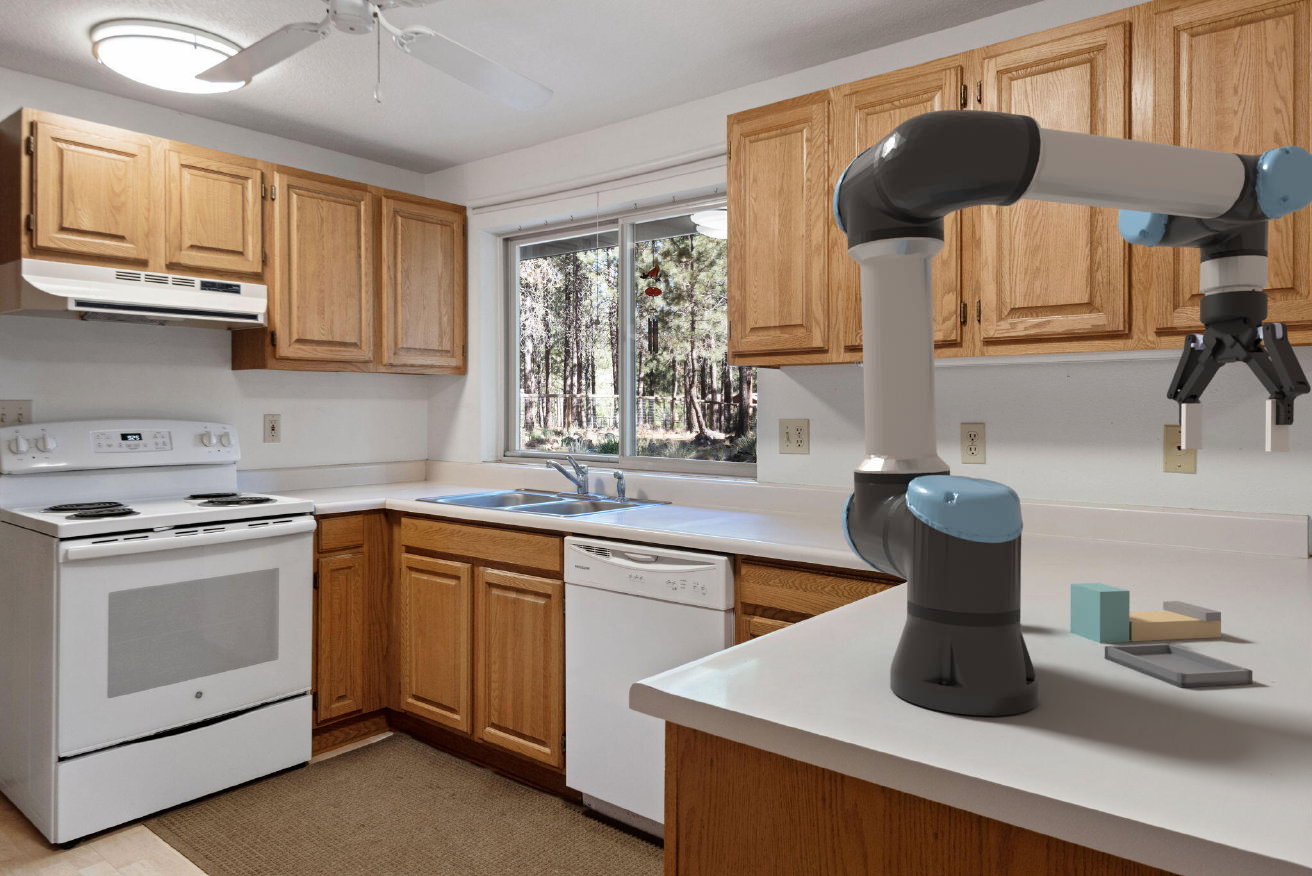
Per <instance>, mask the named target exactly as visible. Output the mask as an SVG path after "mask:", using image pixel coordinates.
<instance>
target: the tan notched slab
mask: <svg viewBox="0 0 1312 876" xmlns="http://www.w3.org/2000/svg"><path fill="white" fill-rule="evenodd" d="M1162 602H1163V603H1162V607H1163V608H1162V610H1157V611H1152V610H1151V611H1132V612H1130V611H1129V642H1145V641H1148V642H1150V641H1165V640H1166V641H1167V640H1190V639H1211V638H1221V637H1222V612H1221V611H1219V610H1214V609H1209V608H1207V607H1203V606H1199V605H1194V604H1190V603H1187V602H1183V601H1180V600H1174V601H1172V600H1170V601H1162Z"/></svg>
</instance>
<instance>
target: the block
mask: <svg viewBox="0 0 1312 876" xmlns="http://www.w3.org/2000/svg"><path fill="white" fill-rule="evenodd" d="M1130 592H1131V591H1130V590H1127V589H1125V588H1121V587H1116V586H1112V585H1108V584H1106V583H1105V584H1104V583H1101V582H1090V583H1089V582H1085V583H1084V582H1083V583H1070V633H1071V634H1074V635H1076V636H1079V637H1082V638H1085V639H1087V640H1089V641H1090V640H1091V641H1093V642H1095V643H1097V644H1098V643H1099V644H1110V643H1113V644H1115V643H1129V642H1130V640H1129V612H1130V603H1131V602H1130V600H1131V599H1130V598H1131V597H1130Z"/></svg>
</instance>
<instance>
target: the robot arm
mask: <svg viewBox="0 0 1312 876" xmlns="http://www.w3.org/2000/svg"><path fill="white" fill-rule="evenodd" d="M834 188H835V189H834V193H833V199H832V200H833V201H832V206H833V207H832V208H833V214H834V219H835V221H836V224H837V226H838V227H839V229H840V230H841V231H842V232H843V233H844V234H845V237H846V238H847V239H846V240H847V241H846V242H847V255H848V256H849V258H851V259H852V260H853V261H854V262H855V263H857V265H858V266H859V268H860V287H861V288H860V291H861V292H860V293H861V320H862V321H861V323H862V324H861V326H862V329H861V330H862V332H861V333H862V361H863V364H862V365H863V396H864V397H863V398H864V399H863V400H864V401H863V402H864V436H865V437H864V438H865V440H864V441H865V455H864V457H863V458H862V459H861V460H860V461H859V463H857V465H856V466H855V467H854V468H853V487H854V488H853V491H852V493H851V494H849V497H847V499H846V500H845V503H844V505H843V508H842V514H841V527H842V529H841V530H842V533H843V537H844V539H845V541H846V543H847V545H848V546H849V549H850V550H851V551H852V552H853V554H854V555H855V556H856V557H858V559H860V560H861V561H862V562H863V563H866V564H867V565H868V566H869V567H871V568H873V569H874V570H877V571H878V572H880V573H885V574H887V575H891V576H896V577H898V578H900V579H903V580H906V621H905V624H904V627H903V629H902V631H901V635H900V638H899V641H898V643H897V644H898V645H897V648H895V649H896V650H895V654H894V656H893V659H892V662H891V664H890V671H889V672H890V673H889V674H890V677H889V679H890V681H889V682H890V684H889V686H890V689H891V691H892V693H894V694H895V695H897V696H898V697H899V698H901V699H903V700H905V701H907V702H909V703H911V704H914V705H917V706H921V707H925V708H928V709H931V710H937V711H941V712H945V713H953V714H960V715H969V716H970V715H971V716H984V717H985V716H989V717H991V716H995V717H996V716H1008V715H1009V716H1011V715H1015V714H1016V715H1017V714H1022V713H1026V712H1029V711H1030V710H1033V709H1034V708H1036V707H1037V705H1038V704H1039V682H1038V681H1039V680H1038V677H1037V673H1036V671H1035V668H1034V665H1033V662H1032V659H1031V656H1030V653H1029V650H1028V649H1029V648H1027V644H1026V641H1025V637H1024V635H1023V632H1022V626H1021V611H1022V610H1021V605H1022V604H1021V603H1022V602H1021V601H1022V597H1021V596H1022V595H1021V594H1022V593H1021V591H1022V575H1021V574H1022V534H1023V533H1022V532H1023V530H1024V522H1023V518H1022V507H1021V501H1020V500H1021V499H1020V497H1019V495H1018V493H1017V492H1016V490H1014V489H1013V488H1012V487H1011V486H1009V485H1007V484H1005V483H1001V482H998V481H994V480H990V479H985V478H977V477H976V478H975V477H970V476H962V475H951V466H949V465H948V464H947V463H946V462H945V461H944V460H943V459H942V457H940V456H939V455H938V452H937V451H938V450H937V421H936V420H937V419H936V417H937V415H936V414H937V413H936V408H937V407H936V382H935V381H936V379H935V378H936V375H935V374H936V373H935V372H936V371H935V367H936V366H935V335H934V333H935V332H934V294H933V293H934V291H933V260H934V259H935V257H936V256H938V254H939V253H940V252H941V251H942V250H943V249H944V247H945V219H944V217H946V216H947V215H949V214H951V213H954V212H958V211H960V210H964V209H968V208H973V207H979V206H998V207H1011V206H1014V205H1016V204H1017V203H1019V202H1020V201H1021V200H1022V199H1023V200H1031V201H1040V202H1041V201H1042V202H1048V203H1049V202H1050V203H1059V204H1069V205H1078V206H1087V207H1088V206H1089V207H1094V208H1095V207H1098V208H1106V209H1114V210H1115V209H1116V210H1119V212H1118V223H1117V224H1118V225H1117V227H1118V231H1119V234H1120V236H1121V238H1123V239H1124V240H1125V242H1127V243H1130V244H1132V245H1138V246H1144V247H1148V248H1153V247H1159V248H1160V247H1162V248H1163V247H1165V248H1189V249H1190V248H1194V249H1199V252H1200V253H1199V254H1200V257H1199V258H1200V259H1199V264H1200V270H1199V271H1200V273H1199V275H1200V276H1199V292H1200V293H1202V294H1203V295H1204V296H1202V297H1201V298H1200V299H1199V321H1200V323H1201V324H1202V325H1204V327H1205V328H1204V329H1205V330H1204V333H1203V334H1202V333H1188V334H1186V335H1185V337H1184V345H1183V351H1182V354H1181V356H1180V358H1179V361H1178V364H1177V367H1176V369H1175V371H1174V375H1173V377H1172V380H1171V382H1170V385H1169V388H1168V390H1167V393H1166V398H1167V399H1168V400H1172V401H1175V402H1176V403H1177V404H1178V424H1179V426H1181V430H1180V431H1181V437H1180V439H1181V440H1180V441H1181V442H1180V443H1181V444H1180V445H1181V447H1180V449H1181V450H1202V449H1203V403H1202V401H1201V400H1200V398H1201V397H1202V395H1203V393H1204V392H1205V391H1206V389H1207V387H1208V386H1209V384H1210V383H1211V381H1212V380H1213V378H1215V376H1216V374H1217V372H1218V371H1219V370H1220V368H1222V367H1224V366H1225V365H1226V364H1232V363H1236V362H1242V363H1244V364H1246V365H1247V367H1248V368H1249V369H1250V371H1252V373H1253V374H1254V376H1256V378H1257V380H1259V382H1260V383H1261V384H1262V386H1263V387H1264V388H1265V390H1266V391H1267V392H1268V393H1269V396H1268V397H1267V399H1269V400H1267V399H1266V400H1265V450H1264V451H1265V452H1271V453H1272V452H1276V453H1277V452H1281V453H1282V452H1283V453H1285V452H1290V426H1293V423H1294V416H1295V415H1294V414H1295V413H1294V412H1295V403H1294V402H1295V400H1296V399H1297V397H1299V396H1302V395H1307V394H1309V393H1310V392H1311V389H1312V388H1311V385H1310V382H1309V381H1308V378H1307V377H1306V375H1305V373H1304V371H1303V368H1302V366H1301V364H1300V362H1299V360H1298V358H1297V356H1296V353H1295V351H1294V349H1293V347H1292V344H1291V342H1290V341H1289V337H1288V336H1289V335H1288V326H1287V324H1286V323H1285V322H1265V323H1263V322H1264V321H1265V320H1266V319H1267V318H1268V315H1269V314H1268V306H1269V305H1268V303H1269V301H1268V300H1269V299H1268V298H1269V297H1268V293H1267V292H1265V291H1263V290H1264V289H1266V288H1267V287H1268V277H1269V276H1268V273H1269V272H1268V271H1269V270H1268V268H1269V267H1268V266H1269V265H1268V263H1269V262H1268V261H1269V257H1268V254H1269V252H1268V248H1269V221H1272V220H1279V219H1281V218H1283V217H1284V216H1287V215H1290V214H1292V213H1295V212H1298V211H1301V210H1303V209H1305V208H1306V207H1308V206H1309V205H1310V204H1311V203H1312V154H1311V153H1310V151H1308V150H1307V149H1305V148H1303V147H1302V146H1301V147H1300V146H1298V145H1286V146H1282V147H1279V148H1271V149H1268V150H1266V151H1264V152H1263V153H1260V154H1242V153H1233V152H1226V151H1219V150H1218V151H1217V150H1211V149H1204V148H1203V149H1202V148H1197V147H1195V148H1194V147H1189V146H1188V147H1187V146H1181V145H1180V146H1179V145H1172V144H1168V143H1167V144H1166V143H1157V142H1151V141H1144V140H1143V141H1142V140H1136V139H1128V138H1121V137H1112V136H1105V135H1097V134H1092V133H1091V134H1089V133H1084V132H1083V133H1081V132H1074V131H1067V130H1061V129H1059V130H1058V129H1052V128H1044V127H1041V126H1040V123H1039V122H1038V121H1037V120H1036V119H1035V118H1034V117H1032V116H1031V115H1030V116H1029V115H1023V114H1017V113H1015V114H1014V113H1009V112H1000V111H989V110H978V109H977V110H976V109H944V110H935V111H929V112H925V113H921V114H918V115H915V116H912V117H911V118H908V119H906V120H904V121H903V122H902V123H900V124H899V125H897V126H896V127H895V128H894V129H893V130H892V131H891V132H889V133H888V134H887V135H885V136H884V137H883V138H881V140H879V141H878V142H877V143H875V144H874V145H873V146H871V147H870V146H869V147H868V148H866V149H865V150H864V151H862V152H861V153H858V155H857V156H856V157H855V158H854V159H853V160H852V161H851V162H850V163H849V164H848V166H847V167H846V169H845V170H844V171H843V172H842V174H841V175H840V176H839V178H838V181H837V182H836V185H835V187H834ZM1262 341H1263V344H1264V345H1262Z"/></svg>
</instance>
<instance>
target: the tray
mask: <svg viewBox="0 0 1312 876" xmlns="http://www.w3.org/2000/svg"><path fill="white" fill-rule="evenodd" d="M1104 659H1106V660H1109V661H1111V662H1114V663H1116V664H1119V665H1121V666H1124V667H1127V668H1129V669H1132V670H1135V671H1136V672H1137V671H1138V672H1140V673H1142V674H1144V675H1148V676H1149V677H1153V678H1155V679H1158V680H1161V681H1163V682H1166V683H1169V684H1171V685H1173V686H1175V687H1179V688H1181V689H1183V688H1201V687H1218V686H1234V685H1250V684H1251V685H1252V684H1253V670H1252V669H1249V668H1246V667H1243V666H1239V665H1236V664H1234V663H1230V662H1228V661H1224V660H1221V659H1219V658H1215V657H1212V656H1209V655H1206V654H1203V653H1200V652H1197V651H1194V650H1191V649H1188V648H1185V647H1182V646H1179V645H1175V644H1173V643H1169V642H1168V643H1167V642H1166V643H1150V644H1149V643H1148V644H1147V643H1145V644H1144V643H1143V644H1129V645H1128V644H1125V645H1105V646H1104Z"/></svg>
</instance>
